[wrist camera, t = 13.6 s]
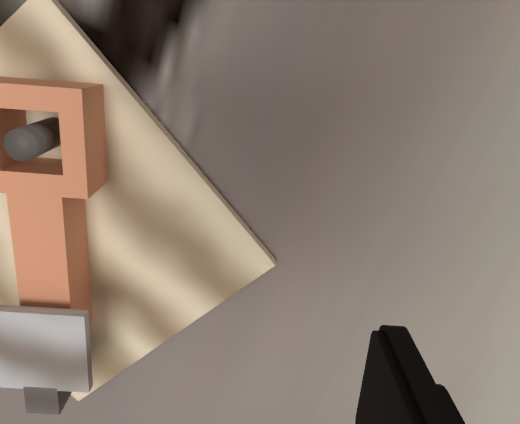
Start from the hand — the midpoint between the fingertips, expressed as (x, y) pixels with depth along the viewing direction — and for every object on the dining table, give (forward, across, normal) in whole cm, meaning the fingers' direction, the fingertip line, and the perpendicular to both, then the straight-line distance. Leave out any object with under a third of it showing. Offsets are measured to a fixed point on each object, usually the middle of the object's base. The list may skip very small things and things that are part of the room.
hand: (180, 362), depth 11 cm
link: (+23, +13, +5) cm, 27 cm away
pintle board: (+24, +13, +7) cm, 28 cm away
